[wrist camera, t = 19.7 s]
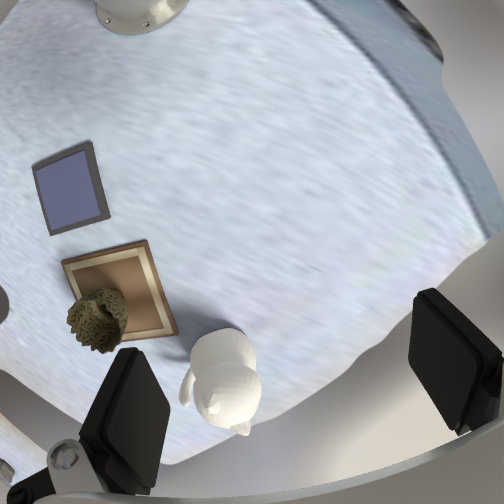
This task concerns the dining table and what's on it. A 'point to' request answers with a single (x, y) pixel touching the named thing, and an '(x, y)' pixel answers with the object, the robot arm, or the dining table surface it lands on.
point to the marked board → (126, 287)
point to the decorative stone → (6, 471)
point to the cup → (99, 319)
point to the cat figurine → (223, 380)
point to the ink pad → (71, 190)
